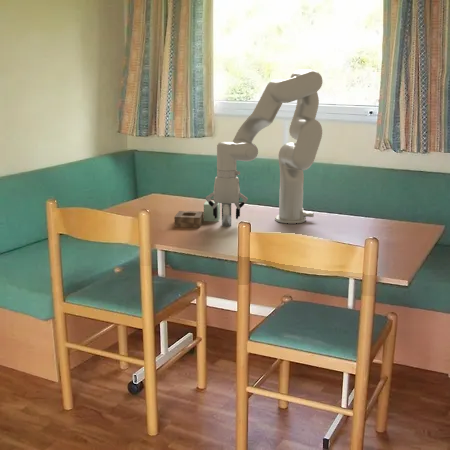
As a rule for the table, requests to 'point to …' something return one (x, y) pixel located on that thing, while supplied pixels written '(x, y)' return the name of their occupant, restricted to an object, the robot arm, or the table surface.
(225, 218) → the metal peg
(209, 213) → the green block
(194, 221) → the socket block
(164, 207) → the table surface
